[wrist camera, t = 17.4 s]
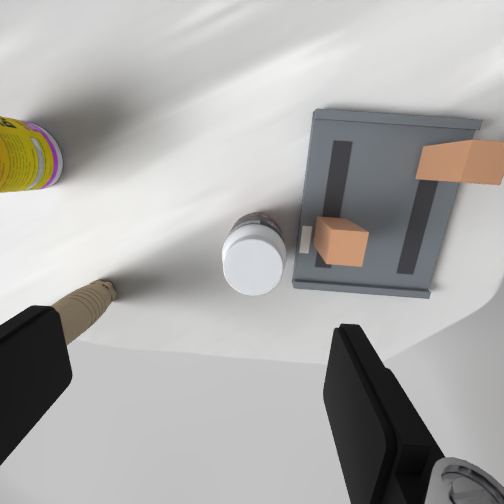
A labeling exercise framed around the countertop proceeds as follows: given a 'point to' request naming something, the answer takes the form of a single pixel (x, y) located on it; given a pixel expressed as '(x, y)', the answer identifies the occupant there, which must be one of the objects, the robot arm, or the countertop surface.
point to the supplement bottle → (27, 157)
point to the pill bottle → (254, 255)
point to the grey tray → (376, 199)
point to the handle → (84, 307)
